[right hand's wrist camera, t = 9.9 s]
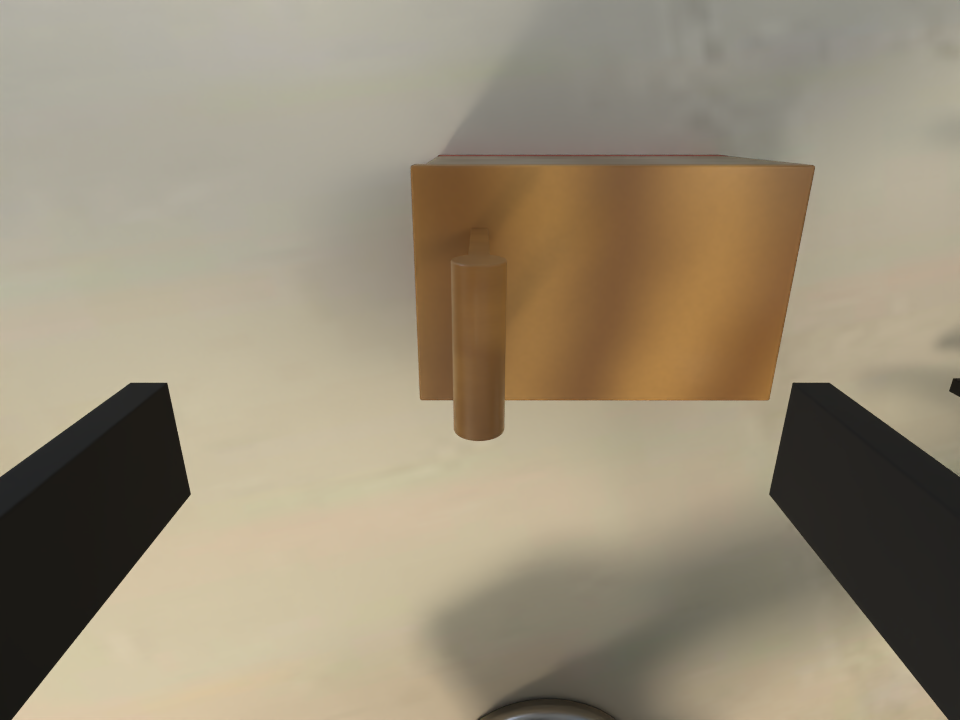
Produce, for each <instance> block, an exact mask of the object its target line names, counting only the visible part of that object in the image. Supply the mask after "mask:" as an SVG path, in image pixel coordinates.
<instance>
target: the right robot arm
mask: <svg viewBox="0 0 960 720" xmlns="http://www.w3.org/2000/svg"><path fill="white" fill-rule="evenodd" d="M190 495H191V493H190V488H189V484H188V479H187V474H186V470H185V465H184V460H183V455H182V451H181V446H180V441H179V436H178V432H177V427H176V422H175V417H174V413H173V408H172V403H171V399H170V394H169V389H168V384H167V383H130V384H128V385H127V386H126V387H124V388H123V389H121V390H120V391H119V392H117V393H116V394H115V395H113V396H112V397H110V398H109V399H108V400H106V401H105V402H103V403H102V404H101V405H99V406H98V407H97V408H95V409H94V410H92V411H91V412H90V413H88V414H87V415H86V416H84V417H83V418H81V419H80V420H79V421H77V422H76V423H74V424H73V425H72V426H70V427H69V428H68V429H66V430H65V431H63V432H62V433H61V434H59V435H58V436H56V437H55V438H54V439H52V440H51V441H50V442H48V443H47V444H45V445H44V446H43V447H41V448H40V449H38V450H37V451H36V452H34V453H33V454H32V455H30V456H29V457H27V458H26V459H25V460H23V461H22V462H20V463H19V464H18V465H16V466H15V467H14V468H12V469H11V470H9V471H8V472H7V473H5V474H4V475H2V476H1V477H0V720H12V719H13V717H14V716H15V715H16V714H17V712H18V711H19V710H20V708H21V707H22V706H23V705H24V703H25V702H26V701H27V700H28V698H29V697H30V696H31V695H32V693H33V692H34V691H35V690H36V688H37V687H38V686H39V685H40V683H41V682H42V681H43V680H44V678H45V677H46V676H47V675H48V673H49V672H50V671H51V669H52V668H53V667H54V666H55V664H56V663H57V662H58V661H59V659H60V658H61V657H62V656H63V654H64V653H65V652H66V651H67V649H68V648H69V647H70V646H71V644H72V643H73V642H74V641H75V639H76V638H77V637H78V636H79V634H80V633H81V632H82V630H83V629H84V628H85V627H86V625H87V624H88V623H89V622H90V620H91V619H92V618H93V617H94V615H95V614H96V613H97V612H98V610H99V609H100V608H101V607H102V605H103V604H104V603H105V602H106V600H107V599H108V598H109V597H110V595H111V594H112V593H113V591H114V590H115V589H116V588H117V586H118V585H119V584H120V583H121V581H122V580H123V579H124V578H125V576H126V575H127V574H128V573H129V571H130V570H131V569H132V568H133V566H134V565H135V564H136V563H137V561H138V560H139V559H140V558H141V556H142V555H143V554H144V552H145V551H146V550H147V549H148V547H149V546H150V545H151V544H152V542H153V541H154V540H155V539H156V537H157V536H158V535H159V534H160V532H161V531H162V530H163V529H164V527H165V526H166V525H167V524H168V522H169V521H170V520H171V519H172V517H173V516H174V515H175V513H176V512H177V511H178V510H179V508H180V507H181V506H182V505H183V503H184V502H185V501H186V500H187V498H188V497H189V496H190ZM769 495H770V496H771V497H772V498H773V500H774V501H775V502H776V503H777V505H778V506H779V507H780V508H781V510H782V511H783V512H784V513H785V515H786V516H787V517H788V519H789V520H790V521H791V522H792V524H793V525H794V526H795V527H796V529H797V530H798V531H799V532H800V534H801V535H802V536H803V537H804V539H805V540H806V541H807V542H808V544H809V545H810V546H811V547H812V549H813V550H814V551H815V552H816V554H817V555H818V556H819V558H820V559H821V560H822V561H823V563H824V564H825V565H826V566H827V568H828V569H829V570H830V571H831V573H832V574H833V575H834V576H835V578H836V579H837V580H838V581H839V583H840V584H841V585H842V586H843V588H844V589H845V590H846V591H847V593H848V594H849V595H850V597H851V598H852V599H853V600H854V602H855V603H856V604H857V605H858V607H859V608H860V609H861V610H862V612H863V613H864V614H865V615H866V617H867V618H868V619H869V620H870V622H871V623H872V624H873V625H874V627H875V628H876V629H877V630H878V632H879V633H880V634H881V636H882V637H883V638H884V639H885V641H886V642H887V643H888V644H889V646H890V647H891V648H892V649H893V651H894V652H895V653H896V654H897V656H898V657H899V658H900V659H901V661H902V662H903V663H904V664H905V666H906V667H907V668H908V669H909V671H910V672H911V673H912V675H913V676H914V677H915V678H916V680H917V681H918V682H919V683H920V685H921V686H922V687H923V688H924V690H925V691H926V692H927V693H928V695H929V696H930V697H931V698H932V700H933V701H934V702H935V703H936V705H937V706H938V707H939V708H940V710H941V711H942V712H943V714H944V715H945V716H946V717H947V719H948V720H960V477H959V476H958V475H956V474H955V473H953V472H952V471H951V470H949V469H948V468H946V467H945V466H944V465H942V464H941V463H940V462H938V461H937V460H935V459H934V458H933V457H931V456H930V455H928V454H927V453H926V452H924V451H923V450H922V449H920V448H919V447H917V446H916V445H915V444H913V443H912V442H910V441H909V440H908V439H906V438H905V437H904V436H902V435H901V434H899V433H898V432H897V431H895V430H894V429H892V428H891V427H890V426H888V425H887V424H886V423H884V422H883V421H881V420H880V419H879V418H877V417H876V416H874V415H873V414H872V413H870V412H869V411H868V410H866V409H865V408H863V407H862V406H861V405H859V404H858V403H857V402H855V401H854V400H852V399H851V398H850V397H848V396H847V395H845V394H844V393H843V392H841V391H840V390H839V389H837V388H836V387H834V386H833V385H832V384H830V383H793V384H792V389H791V394H790V399H789V403H788V408H787V413H786V417H785V422H784V427H783V432H782V436H781V441H780V446H779V451H778V455H777V460H776V465H775V470H774V474H773V479H772V484H771V488H770V493H769Z"/></svg>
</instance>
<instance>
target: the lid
mask: <svg viewBox="0 0 960 720" xmlns="http://www.w3.org/2000/svg"><path fill="white" fill-rule="evenodd" d="M814 170H815V166H813V165H806V164H414V165H412V166H411V192H412V216H413V241H414V265H415V289H416V314H417V338H418V363H419V387H420V399H421V400H453V406H454V431H455V433H456V434H457V435H458V436H460V437H462V438H464V439H468V440H473V441H485V440H491V439H494V438H496V437H498V436H500V435H501V434H502V433H503V431H504V413H505V400H769V398H770V393H771V387H772V382H773V377H774V372H775V367H776V362H777V357H778V352H779V347H780V342H781V337H782V332H783V327H784V322H785V317H786V312H787V307H788V301H789V296H790V291H791V286H792V281H793V276H794V271H795V266H796V261H797V256H798V251H799V246H800V241H801V236H802V231H803V226H804V221H805V215H806V210H807V205H808V200H809V195H810V190H811V185H812V180H813V175H814Z"/></svg>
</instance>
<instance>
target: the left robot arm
mask: <svg viewBox="0 0 960 720" xmlns="http://www.w3.org/2000/svg"><path fill="white" fill-rule="evenodd" d="M949 391H950V392H952V393H954V394H955V395H957V396H959V397H960V378H953V381H952V384H951V387H950V390H949ZM480 720H615V719H614V718H613V717H611V716H610V715H608V714H606V713H605V712H603V711H601V710H599V709H596V708H594V707H591V706H589V705H586V704H582V703H578V702H573V701H568V700H559V699H539V700H530V701H524V702H519V703H515V704H511V705H508V706H505V707H502V708H500V709H498V710H495V711H493V712H491V713H490V714H488V715H486V716H484V717H483V718H481V719H480Z"/></svg>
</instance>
